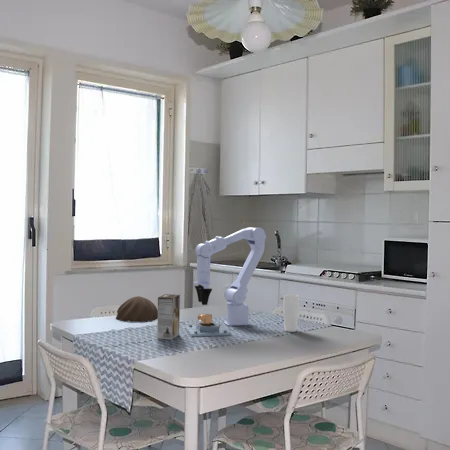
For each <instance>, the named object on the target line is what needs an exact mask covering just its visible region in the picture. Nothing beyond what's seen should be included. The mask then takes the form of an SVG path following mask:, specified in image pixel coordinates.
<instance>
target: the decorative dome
mask: <svg viewBox="0 0 450 450" xmlns="http://www.w3.org/2000/svg"><path fill="white" fill-rule="evenodd" d="M116 313H117V314H116V317H115V319H116V320H120V321H122V322H133V323H134V322H135V323H137V322H149V321H155V320H158V307H157V306H156V305H155V303H153V302H152V301H151V300H150V299H148V298H146V297H143V296H138V295H137V296H134V297H130V298H129V299H127V300H126V301H124V302H123V303H122V304H121V305H120V306H119V307H118V309H117V311H116Z"/></svg>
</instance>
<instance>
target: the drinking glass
mask: <svg viewBox="0 0 450 450" xmlns="http://www.w3.org/2000/svg"><path fill="white" fill-rule="evenodd" d="M300 299H301V298H300V295H299V294H297V293H296V294H293V293H287V294H283V299H282V301H283V302H282V304H283V305H282V307H283V322H284V331H285V332H289V333H293V332H297V331H298V321H299V312H300V302H301V301H300Z"/></svg>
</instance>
